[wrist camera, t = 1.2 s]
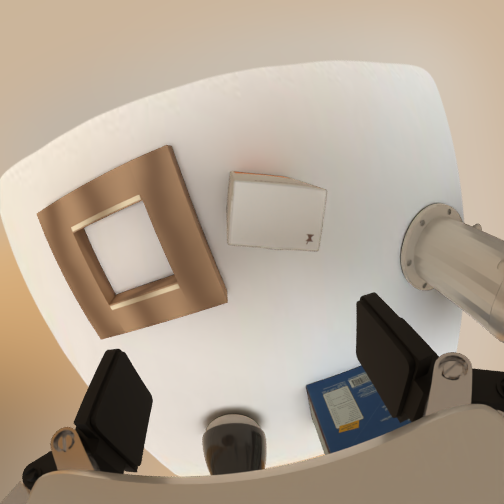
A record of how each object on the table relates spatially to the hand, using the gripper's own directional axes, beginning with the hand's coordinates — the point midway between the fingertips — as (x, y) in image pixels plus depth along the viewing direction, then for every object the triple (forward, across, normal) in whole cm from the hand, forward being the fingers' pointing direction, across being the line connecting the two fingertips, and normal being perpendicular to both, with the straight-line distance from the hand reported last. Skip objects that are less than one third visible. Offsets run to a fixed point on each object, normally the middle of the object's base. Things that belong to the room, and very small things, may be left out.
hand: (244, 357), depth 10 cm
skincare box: (+20, -3, -3) cm, 21 cm away
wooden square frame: (+20, +12, 0) cm, 23 cm away
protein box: (+20, -13, +31) cm, 40 cm away
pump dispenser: (+20, +8, +33) cm, 39 cm away
